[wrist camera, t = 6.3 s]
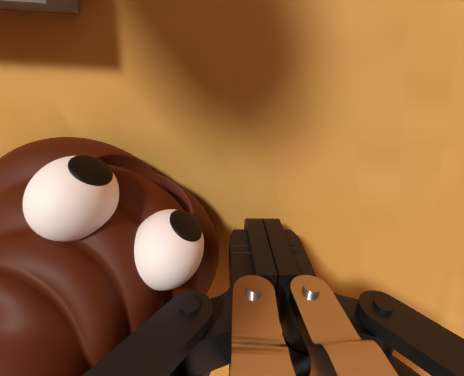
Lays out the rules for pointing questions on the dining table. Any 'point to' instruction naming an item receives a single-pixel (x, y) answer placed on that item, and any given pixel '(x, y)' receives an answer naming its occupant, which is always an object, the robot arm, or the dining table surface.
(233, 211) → the dining table surface
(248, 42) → the dining table surface
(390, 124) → the dining table surface
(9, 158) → the poop emoji
